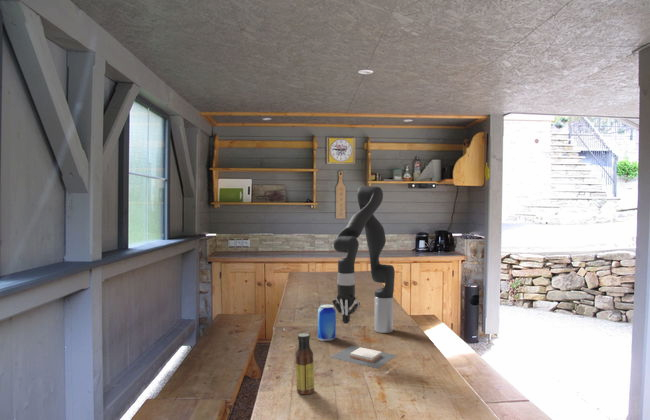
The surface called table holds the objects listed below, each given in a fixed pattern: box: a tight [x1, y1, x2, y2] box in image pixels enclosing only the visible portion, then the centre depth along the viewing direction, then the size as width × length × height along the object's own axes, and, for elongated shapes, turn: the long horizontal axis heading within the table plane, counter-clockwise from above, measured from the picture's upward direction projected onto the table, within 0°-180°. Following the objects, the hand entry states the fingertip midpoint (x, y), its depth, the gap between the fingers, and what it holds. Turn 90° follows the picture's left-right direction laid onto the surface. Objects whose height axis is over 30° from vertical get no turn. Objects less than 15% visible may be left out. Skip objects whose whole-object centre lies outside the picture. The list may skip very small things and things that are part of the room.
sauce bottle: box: [295, 332, 315, 396], centre depth 159 cm, size 7×6×20 cm
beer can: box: [317, 303, 337, 342], centre depth 217 cm, size 8×8×16 cm
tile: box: [350, 347, 382, 362], centre depth 193 cm, size 9×2×10 cm
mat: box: [329, 345, 398, 369], centre depth 193 cm, size 18×22×1 cm
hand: (346, 323), depth 198 cm, fingers closed
